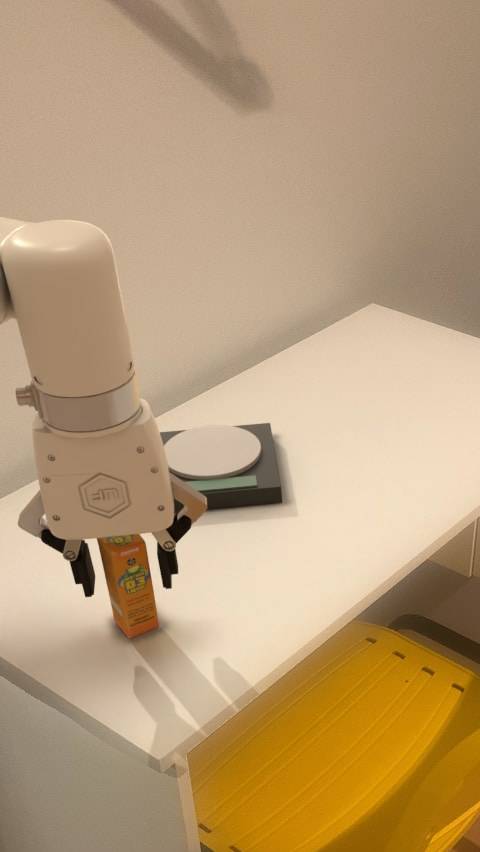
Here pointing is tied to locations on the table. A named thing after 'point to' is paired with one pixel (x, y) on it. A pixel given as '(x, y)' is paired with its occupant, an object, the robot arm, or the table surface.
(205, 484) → the scale
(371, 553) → the table surface
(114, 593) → the supplement box
